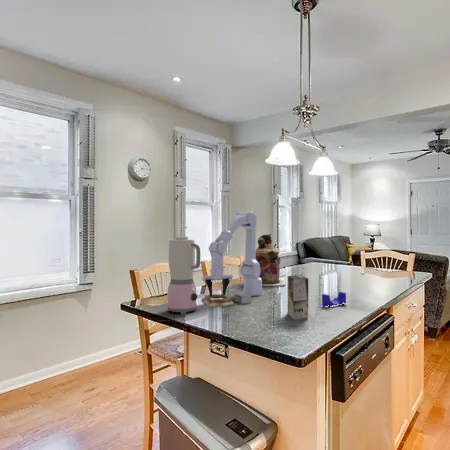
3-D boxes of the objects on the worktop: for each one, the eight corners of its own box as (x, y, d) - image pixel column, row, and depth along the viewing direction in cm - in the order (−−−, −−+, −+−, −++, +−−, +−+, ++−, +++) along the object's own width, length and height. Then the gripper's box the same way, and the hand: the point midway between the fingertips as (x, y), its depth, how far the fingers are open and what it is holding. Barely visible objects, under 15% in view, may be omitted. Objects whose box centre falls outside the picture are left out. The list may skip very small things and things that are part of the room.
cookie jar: (247, 280, 230) (247, 232, 230) (284, 280, 227) (284, 232, 227) (244, 286, 206) (244, 233, 206) (286, 287, 202) (285, 233, 202)
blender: (161, 312, 144) (161, 237, 144) (179, 306, 155) (179, 236, 155) (190, 317, 136) (190, 237, 136) (208, 311, 146) (208, 236, 146)
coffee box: (309, 319, 134) (309, 278, 134) (293, 319, 133) (293, 278, 133) (301, 313, 143) (301, 275, 143) (286, 313, 142) (286, 275, 142)
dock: (225, 298, 172) (225, 293, 172) (234, 305, 156) (234, 299, 156) (202, 299, 169) (202, 294, 169) (208, 307, 153) (208, 301, 153)
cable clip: (338, 303, 161) (338, 291, 161) (345, 305, 157) (345, 292, 157) (319, 306, 155) (319, 293, 155) (327, 308, 151) (327, 295, 151)
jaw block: (243, 300, 168) (243, 292, 168) (250, 303, 161) (250, 295, 161) (234, 301, 166) (234, 293, 166) (241, 304, 159) (241, 296, 159)
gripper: (229, 265, 168) (229, 292, 168) (200, 266, 164) (200, 294, 164) (233, 266, 162) (233, 295, 162) (203, 267, 158) (203, 297, 158)
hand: (217, 295), depth 162 cm, fingers open, 6 cm apart
